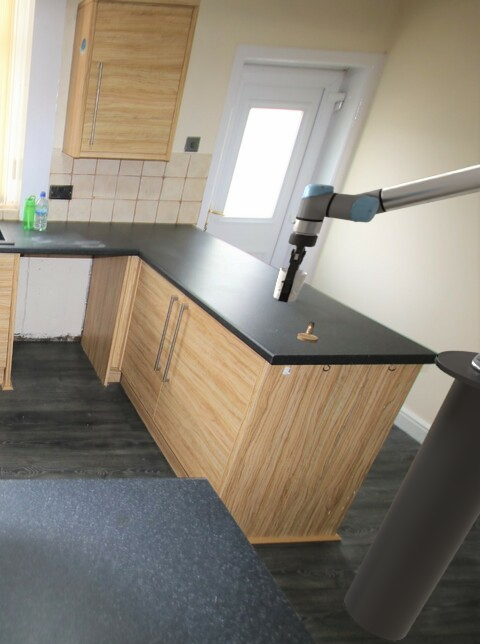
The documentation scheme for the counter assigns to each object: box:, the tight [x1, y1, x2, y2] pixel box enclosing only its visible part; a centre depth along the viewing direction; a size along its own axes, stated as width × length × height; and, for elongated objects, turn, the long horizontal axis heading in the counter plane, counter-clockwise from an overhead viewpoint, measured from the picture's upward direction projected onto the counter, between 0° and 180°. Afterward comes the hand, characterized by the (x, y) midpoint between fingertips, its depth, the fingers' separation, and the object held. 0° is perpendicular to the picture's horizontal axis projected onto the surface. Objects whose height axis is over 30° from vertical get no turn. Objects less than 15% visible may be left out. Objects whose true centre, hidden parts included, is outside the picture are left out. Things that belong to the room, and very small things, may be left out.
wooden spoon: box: [296, 321, 319, 344], centre depth 163 cm, size 19×6×2 cm, turn 142°
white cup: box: [273, 267, 308, 303], centre depth 162 cm, size 8×8×10 cm
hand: (284, 298), depth 164 cm, fingers closed on white cup, 8 cm apart
